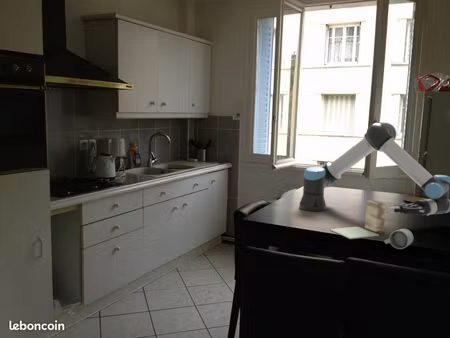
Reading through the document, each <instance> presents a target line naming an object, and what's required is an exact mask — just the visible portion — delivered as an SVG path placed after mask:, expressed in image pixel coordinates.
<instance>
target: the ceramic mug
mask: <svg viewBox="0 0 450 338" xmlns="http://www.w3.org/2000/svg"><path fill="white" fill-rule="evenodd" d="M388 237H389V238H387V239H383V241H384V244H386V245H387V244H390V245H391V246H392V247H393V248H395V249H397V250H403V249H405V248H407V247H409V246H410V245H411V244H412V243H413V241H414V235H413V233H412V231H410V230H409V229H407V228H400V229H397V230H393V231H392V232H391V233H390V234H389V236H388Z"/></svg>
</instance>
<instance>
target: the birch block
mask: <svg viewBox="0 0 450 338" xmlns="http://www.w3.org/2000/svg"><path fill="white" fill-rule="evenodd" d="M386 210H387V202H383V201H381V200H380V201H379V200H377V199H372V200H371V199H369V200H366V207H365V219H364V229H365V230H368V231H370V232H373V233H376V234H384V232H385V221H386V218H385V217H386Z"/></svg>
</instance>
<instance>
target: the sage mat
mask: <svg viewBox="0 0 450 338" xmlns="http://www.w3.org/2000/svg"><path fill="white" fill-rule="evenodd" d="M330 231H331V232H334V233H336V234H338V235H340V236H342V237H345V238H347V239H349V240H354V239H355V240H356V239H363V238H373V237H379V236H380V235H379V233H373V232H370V231H368V230H365V228H363V227H360V226H351V227H350V226H349V227H340V228H331V229H330Z"/></svg>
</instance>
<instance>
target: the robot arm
mask: <svg viewBox="0 0 450 338" xmlns="http://www.w3.org/2000/svg"><path fill="white" fill-rule="evenodd" d="M366 129H367V130H366V131H365V133H364V135H363V139H361V140H360V141H359V142H357V143H356V144H355V145H353V146H352V147H351V148H349V149H347V150H346V151H345V152H344V153H342V154H341V155H340V156H339V157H338V158H336V159H335V160H334V161H332V162H327V163H325V164H324V165H323V166H322V167H320V166H311V167H307V168H305V169H304V172H303V173H304V174H303V185H302V186H303V188H302V192H303V193H302V196H301V199H300V201H299V205H298V208H299V209H301V210H304V211H309V212H323V211H326V210H327V204H326V203H327V202H326V199H325V194H324V193H325V192H324V191H325V189H326V188H331V187H333V186H335V184H336V183H337V181H339V180H341V178H342V174H344V173H345V172H347V171H348V170H350V169H351V168H352V167H353V166H355V165H356V164H357V163H359V162H360V161H362V160H363V159H365V158H366V157H367V156H369V155H370V154H371V153H373V152H374V151H376V152H380V153H381V152H382V153H384V154H385V156H386V157H388V158H389V159H390V161H392V162H393V163H394V164H395V165H396V166H397V167H399V169H401V170H402V171H403V172H404V173H405V174H406V175H407V176H408V177H409V178H410V179H411V180H412V181H413V182H415V183H416V184H417V185H418V186H419V187H420V188H421V189H422V190H423V191H424V194H425V196H426V197H428V199H427V198H426V199H418V200H416V201H414V202H412V203H406V202H403V203H399V204H394V205H393V206H386V210H385V214H398V213H400V214H405V215H407V214H409V215H410V214H412V215H413V214H416V215H417V216H427V217H428V216H430V215H439V214H442V215H443V214H447V213H450V199H449V193H450V192H449V191H450V176H449V175H444V174H443V175H442V174H435V175H432V174H431V173H430V172H429V171H428V170H426V169H425V167H423V165H422V164H420V163H419V162H418V161H417V160H416V159H415V158H414V157H413V156H412V155H410V154H409V153H408V152H407V151H406V150H405V149H404V148H403V147H401V145H399V144H398V143H397V142H396V141H395V140H396V138H397V130H396V128H395V126H394V125H393V124H391V123H388V122H374V123H372V124H371V125H370V126H368V128H366Z"/></svg>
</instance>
